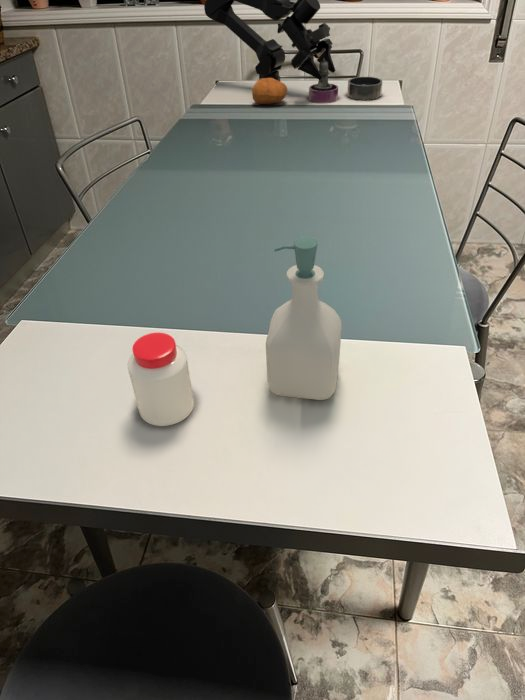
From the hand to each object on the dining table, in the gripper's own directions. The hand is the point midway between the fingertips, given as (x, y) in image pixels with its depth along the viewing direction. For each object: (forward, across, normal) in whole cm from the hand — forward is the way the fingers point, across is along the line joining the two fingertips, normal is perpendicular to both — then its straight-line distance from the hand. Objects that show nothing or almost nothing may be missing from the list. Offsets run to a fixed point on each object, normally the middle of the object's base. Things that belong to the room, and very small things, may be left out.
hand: (327, 75), depth 180 cm
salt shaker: (+4, 0, +6) cm, 7 cm away
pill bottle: (+37, -138, -27) cm, 145 cm away
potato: (-5, -12, +16) cm, 21 cm away
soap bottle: (+47, -124, -37) cm, 137 cm away
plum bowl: (+4, 0, +6) cm, 7 cm away
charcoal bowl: (+12, +9, -2) cm, 15 cm away
